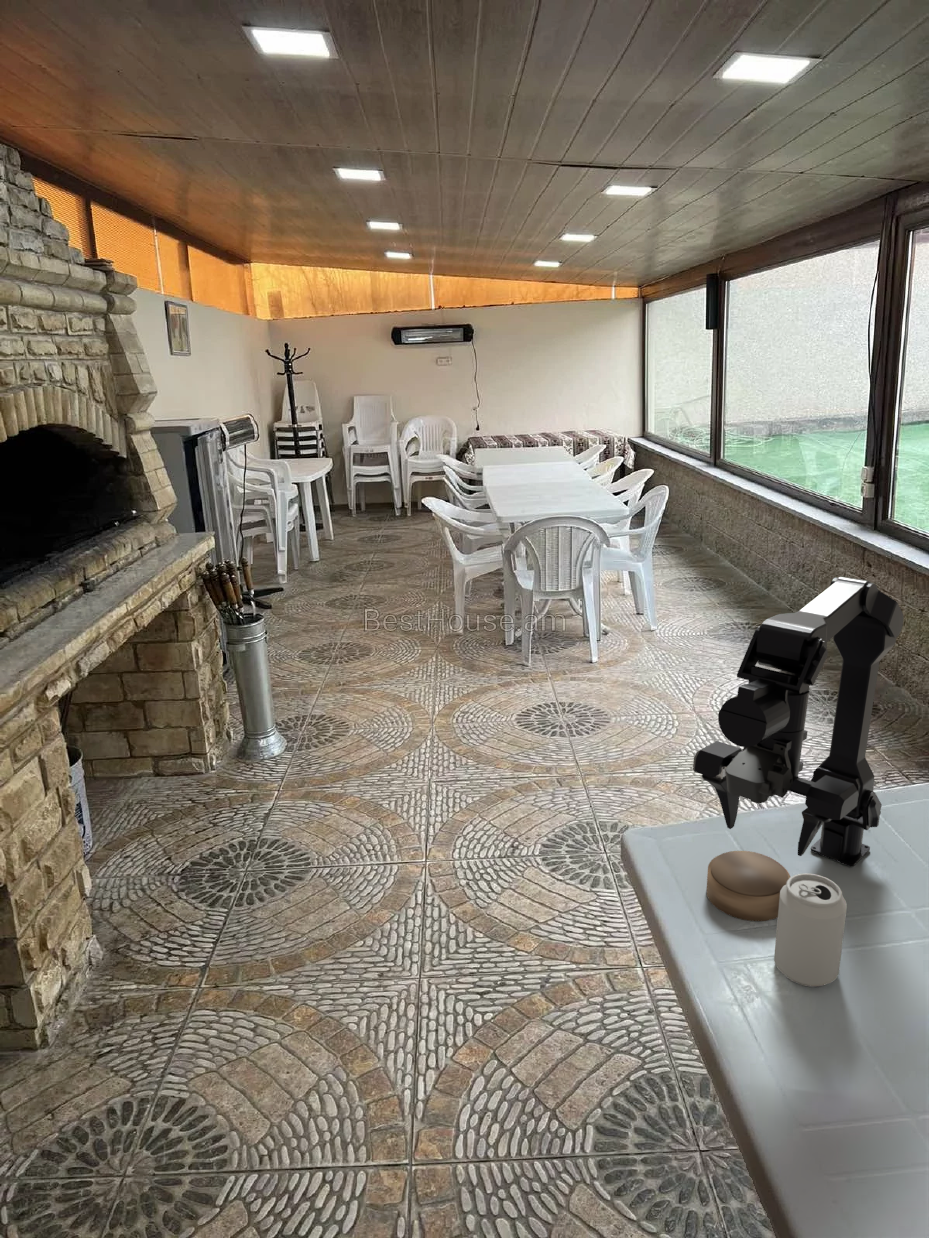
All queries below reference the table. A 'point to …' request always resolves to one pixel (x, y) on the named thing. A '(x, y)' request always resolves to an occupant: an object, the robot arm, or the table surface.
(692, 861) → the table surface
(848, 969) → the table surface
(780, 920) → the can
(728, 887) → the brown wooden disc
